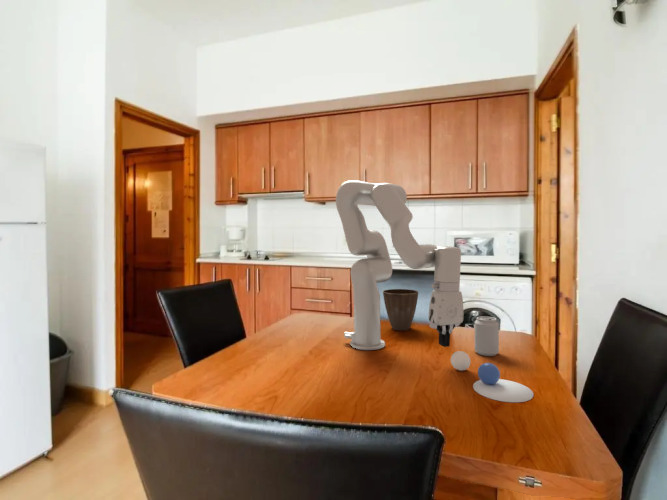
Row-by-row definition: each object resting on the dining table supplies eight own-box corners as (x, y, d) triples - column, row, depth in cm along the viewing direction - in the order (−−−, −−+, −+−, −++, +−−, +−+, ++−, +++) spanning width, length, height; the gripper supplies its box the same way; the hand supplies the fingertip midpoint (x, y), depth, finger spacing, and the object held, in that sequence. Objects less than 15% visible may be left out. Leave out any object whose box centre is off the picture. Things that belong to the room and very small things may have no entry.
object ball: (470, 368, 100) (484, 383, 95) (486, 355, 99) (500, 369, 95) (477, 377, 103) (491, 392, 98) (492, 364, 102) (507, 378, 98)
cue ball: (448, 352, 108) (451, 372, 107) (467, 351, 106) (471, 371, 105) (450, 351, 113) (453, 369, 112) (469, 349, 111) (472, 368, 110)
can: (501, 357, 119) (501, 320, 119) (476, 356, 121) (476, 319, 120) (495, 350, 127) (495, 315, 126) (472, 349, 128) (472, 315, 128)
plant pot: (383, 323, 167) (382, 288, 166) (417, 324, 165) (416, 288, 164) (383, 332, 152) (382, 293, 151) (420, 333, 150) (420, 294, 149)
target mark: (471, 397, 91) (471, 396, 91) (474, 376, 104) (474, 375, 104) (536, 406, 85) (536, 405, 85) (530, 383, 98) (530, 382, 98)
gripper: (434, 290, 107) (431, 352, 108) (474, 287, 113) (471, 346, 114) (418, 285, 114) (416, 344, 115) (457, 283, 120) (455, 339, 121)
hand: (444, 345), depth 115 cm, fingers closed
